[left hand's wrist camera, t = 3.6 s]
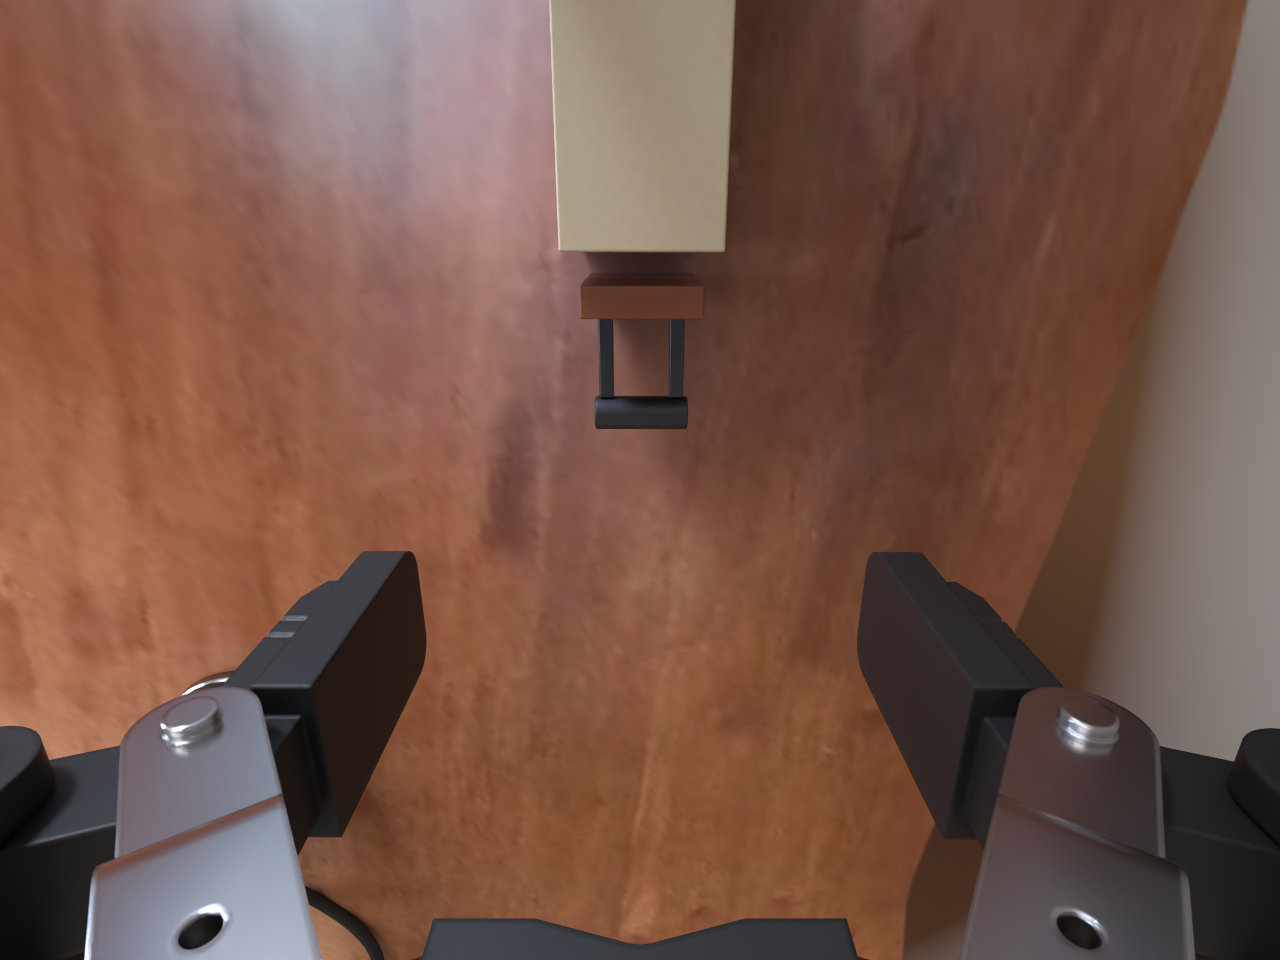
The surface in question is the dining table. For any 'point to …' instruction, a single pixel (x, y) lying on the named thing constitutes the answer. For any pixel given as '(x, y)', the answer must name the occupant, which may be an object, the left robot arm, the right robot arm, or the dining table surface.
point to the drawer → (641, 301)
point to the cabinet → (642, 123)
